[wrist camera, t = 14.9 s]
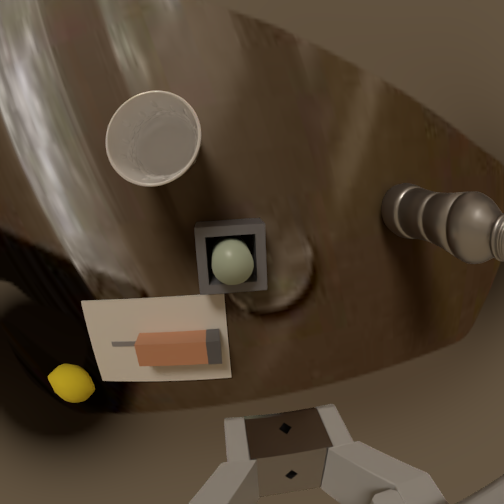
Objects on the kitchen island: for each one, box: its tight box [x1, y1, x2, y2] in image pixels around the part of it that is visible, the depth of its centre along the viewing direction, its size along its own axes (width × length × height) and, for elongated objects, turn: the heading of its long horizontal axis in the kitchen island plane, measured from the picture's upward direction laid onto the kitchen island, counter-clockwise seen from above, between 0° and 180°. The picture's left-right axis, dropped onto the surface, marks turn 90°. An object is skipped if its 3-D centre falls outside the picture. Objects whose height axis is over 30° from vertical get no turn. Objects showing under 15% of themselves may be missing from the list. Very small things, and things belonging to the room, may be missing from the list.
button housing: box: [194, 218, 267, 295], centre depth 35 cm, size 7×7×4 cm
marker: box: [134, 329, 222, 366], centre depth 37 cm, size 10×3×3 cm, turn 93°
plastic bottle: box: [381, 183, 504, 264], centre depth 28 cm, size 6×7×20 cm
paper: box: [81, 293, 232, 381], centre depth 38 cm, size 18×12×1 cm, turn 93°
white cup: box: [106, 91, 201, 187], centre depth 28 cm, size 8×8×10 cm
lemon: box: [48, 364, 95, 403], centre depth 36 cm, size 7×5×5 cm
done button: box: [212, 235, 254, 285], centre depth 33 cm, size 4×4×5 cm
